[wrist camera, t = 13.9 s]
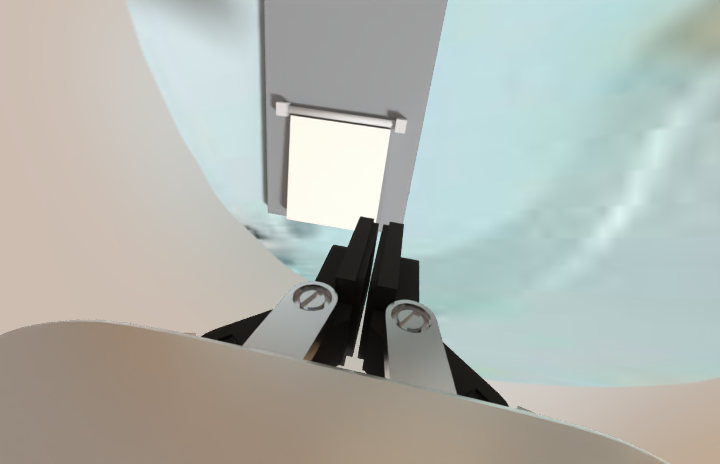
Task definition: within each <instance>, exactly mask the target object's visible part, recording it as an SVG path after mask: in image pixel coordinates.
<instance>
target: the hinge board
mask: <svg viewBox="0 0 720 464" xmlns="http://www.w3.org/2000/svg"><path fill="white" fill-rule="evenodd" d="M447 1H448V0H264V12H265V71H266V130H267V189H268V213H272V214H278V215H284V216H287V195H288V170H289V145H290V120H291V115H296V116H303V117H310V118H317V119H324V120H331V121H337V122H344V123H351V124H358V125H365V126H372V127H379V128H386V129H391V132H390V139H389V145H388V151H387V158H386V164H385V170H384V176H383V183H382V189H381V195H380V202H379V208H378V214H377V220H376V223H379V227H378V231H380V232H382V228H383V224H385V225H389V223H390V222H395V223H401V224H403V220H404V215H405V210H406V205H407V200H408V195H409V190H410V185H411V180H412V175H413V170H414V165H415V160H416V155H417V150H418V145H419V140H420V135H421V130H422V125H423V120H424V115H425V110H426V105H427V100H428V95H429V90H430V85H431V80H432V75H433V70H434V66H435V61H436V56H437V51H438V46H439V41H440V36H441V31H442V26H443V21H444V16H445V11H446V6H447Z"/></svg>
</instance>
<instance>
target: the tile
mask: <svg viewBox="0 0 720 464" xmlns="http://www.w3.org/2000/svg"><path fill="white" fill-rule="evenodd" d="M390 132H391V129H386V128H379V127H372V126H365V125H358V124H351V123H344V122H337V121H331V120H324V119H317V118H310V117H303V116H296V115H291V120H290V145H289V170H288V195H287V219H290V220H296V221H302V222H308V223H314V224H320V225H326V226H332V227H338V228H344V229H350V230H355V228H356V225H357V223H358V220H359V218H360V216H362V217H367V218H373V219H374V223H376V220H377V214H378V208H379V202H380V195H381V189H382V183H383V176H384V170H385V164H386V158H387V151H388V145H389V139H390Z"/></svg>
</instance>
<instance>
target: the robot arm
mask: <svg viewBox="0 0 720 464" xmlns="http://www.w3.org/2000/svg"><path fill="white" fill-rule="evenodd" d="M378 227H379V223H374V219H373V218H367V217H362V216H360V218H359V220H358V223H357V225H356V228H355V230H354V233H353V235H352V238H351V240H350V243H349V245H348V247H344V246H338V245H333V246H332V248H331V250H330V252H329V254H328V256H327V258H326V260H325V262H324V264H323V266H322V268H321V270H320V272H319V274H318V276H317V278H316V280H315V281H308V282H303V283H300V284H298V285H296V286H294V287H293V288H292V289H290V291H289V292H288V293H287V294H286V295H285V296H284V297H283V299H282V300H281V301H280V302H279V303H278V304H277V306H276V307H275V308H274V309H272V310H269V311H266V312H264V313H261V314H258V315H255V316H252V317H249V318H247V319H243V320H241V321H238V322H235V323H232V324H229V325H226V326H223V327H220V328H217V329H215V330H212V331H210V332H208V333H206V334H204V335H203V336H201V337H199V336H196V334H195V333H180V332H175V331H170V330H165V329H159V328H153V327H148V326H142V325H137V324H131V323H125V322H115V321H106V320H71V321H59V322H49V323H42V324H36V325H31V326H27V327H22V328H19V329H16V330H13V331H10V332H7V333H4V334H2V335H0V464H670V463H668V462H666V461H664V460H663V459H661V458H659V457H657V456H655V455H653V454H651V453H650V452H648V451H646V450H644V449H641V448H639V447H637V446H634V445H632V444H630V443H627V442H625V441H623V440H620V439H618V438H616V437H613V436H610V435H607V434H604V433H601V432H598V431H596V430H592V429H590V428H587V427H584V426H580V425H577V424H573V423H569V422H565V421H562V420H558V419H554V418H551V417H547V416H543V415H540V414H536V413H533V412H531V411H529V410H526V409H524V408H522V407H519V406H518V407H517V409H515V408H511V407H509V406H508V404H507V402H506V401H505V400H504V399H503V398H502V397H501V396H500V395H499V393H498V392H496V391H495V390H494V389H493V388H492V387H491V386H490V385H489V384H488V383H487V382H486V381H485V380H483V379H482V378H481V377H480V376H479V375H478V374H477V373H476V372H475V371H474V370H473V369H471V368H470V367H469V366H468V365H467V364H466V363H465V362H464V361H463V360H462V359H461V358H459V357H458V356H457V355H456V354H455V353H454V352H453V351H452V350H451V349H450V348H449V347H447V346H446V345H445V344H444V343H443V341H442V337H441V334H440V330H439V326H438V323H437V319H436V317H435V315H434V314H433V312H432V311H431V310H430V309H429V308H427V307H426V306H424V305H423V304H421V303H419V261H418V260H413V259H407V258H402V257H401V248H402V238H403V228H404V224H401V223H395V222H390V223H389V225H385V224H383V228H382V233H381V237H380V241H379V246H378V250H377V254H376V259H375V263H374V268H373V272H372V276H371V270H372V264H373V258H374V252H375V246H376V240H377V234H378ZM370 277H371V281H370ZM369 282H370V286H369ZM368 288H369V291H368ZM367 292H368V297H367V303H366V310H365V316H364V322H363V328H362V334H361V340H360V347H359V352H358V358H360V359H364V362H363V369H362V370H364V371H365V372H366V373H367V374H365V373H361V372H356V371H352V370H348V369H343V368H339V367H336V366H338V365H341V366H344V363H345V359H346V356H351V357H352V356H353V353H354V348H355V344H356V339H357V335H358V331H359V327H360V322H361V318H362V313H363V309H364V305H365V301H366V296H367Z"/></svg>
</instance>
